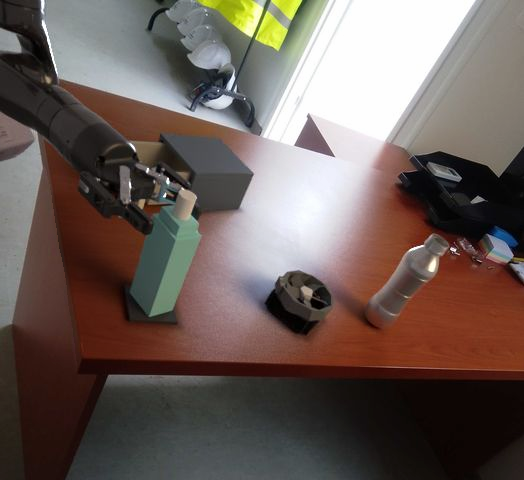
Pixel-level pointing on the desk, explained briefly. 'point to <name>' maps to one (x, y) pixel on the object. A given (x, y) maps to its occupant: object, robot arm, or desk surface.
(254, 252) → the desk surface
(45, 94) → the robot arm
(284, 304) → the cpu cooler
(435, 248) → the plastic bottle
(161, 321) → the mat
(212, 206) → the cabinet
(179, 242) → the soap bottle
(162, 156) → the drawer
